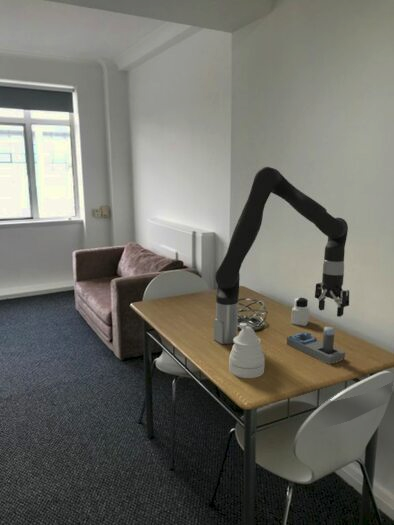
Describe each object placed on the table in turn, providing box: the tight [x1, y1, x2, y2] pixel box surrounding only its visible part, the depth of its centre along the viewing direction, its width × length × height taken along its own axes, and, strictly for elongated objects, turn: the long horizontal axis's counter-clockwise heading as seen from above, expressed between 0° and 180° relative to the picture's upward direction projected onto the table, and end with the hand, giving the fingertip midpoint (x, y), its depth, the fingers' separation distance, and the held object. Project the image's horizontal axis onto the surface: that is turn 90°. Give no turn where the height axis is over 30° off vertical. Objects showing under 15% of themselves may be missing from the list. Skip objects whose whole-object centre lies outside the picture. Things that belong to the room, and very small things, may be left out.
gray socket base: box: [286, 331, 346, 365], centre depth 170 cm, size 23×9×5 cm, turn 32°
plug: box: [322, 326, 336, 355], centre depth 164 cm, size 4×4×12 cm
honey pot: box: [228, 322, 266, 379], centre depth 154 cm, size 13×13×18 cm
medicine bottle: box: [290, 297, 310, 327], centre depth 201 cm, size 7×7×12 cm
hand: (330, 313), depth 161 cm, fingers open, 8 cm apart
